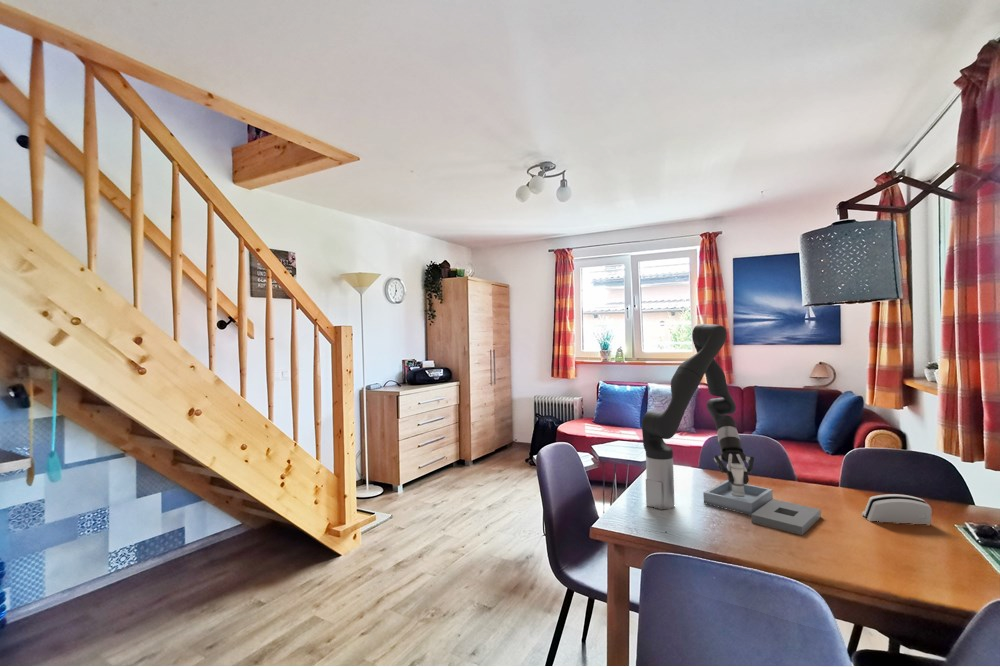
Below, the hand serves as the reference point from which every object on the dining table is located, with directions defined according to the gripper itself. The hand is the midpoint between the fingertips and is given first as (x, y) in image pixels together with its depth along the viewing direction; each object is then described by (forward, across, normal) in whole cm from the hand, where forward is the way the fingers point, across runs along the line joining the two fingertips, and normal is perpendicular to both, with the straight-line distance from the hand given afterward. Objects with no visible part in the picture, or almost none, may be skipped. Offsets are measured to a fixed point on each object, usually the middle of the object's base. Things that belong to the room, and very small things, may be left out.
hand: (739, 482), depth 162 cm
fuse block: (+14, +10, -4) cm, 18 cm away
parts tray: (+4, 0, +7) cm, 8 cm away
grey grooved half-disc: (+12, +43, -1) cm, 45 cm away
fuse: (+2, 0, +5) cm, 5 cm away
